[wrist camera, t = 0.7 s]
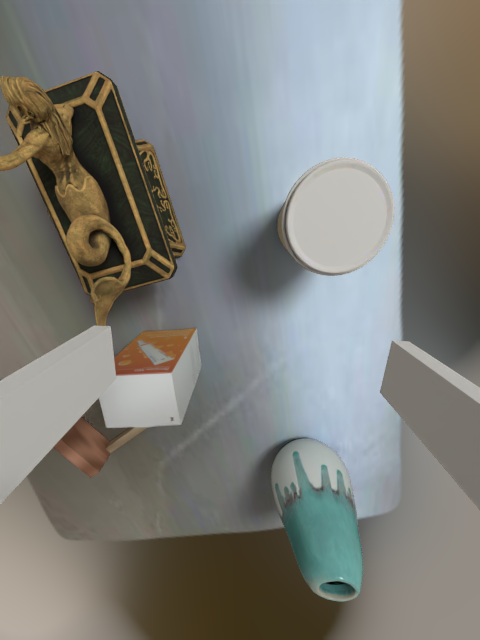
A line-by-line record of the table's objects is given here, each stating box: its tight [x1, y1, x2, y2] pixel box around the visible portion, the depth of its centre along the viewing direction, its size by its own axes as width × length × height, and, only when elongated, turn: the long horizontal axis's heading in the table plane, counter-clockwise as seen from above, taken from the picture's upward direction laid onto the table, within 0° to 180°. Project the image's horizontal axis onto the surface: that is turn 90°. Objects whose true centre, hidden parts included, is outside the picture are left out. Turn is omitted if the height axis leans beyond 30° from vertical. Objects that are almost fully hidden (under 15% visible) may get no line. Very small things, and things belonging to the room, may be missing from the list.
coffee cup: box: [277, 158, 394, 276], centre depth 27 cm, size 9×9×12 cm
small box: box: [99, 328, 202, 428], centre depth 33 cm, size 8×6×13 cm
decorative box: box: [0, 71, 186, 326], centre depth 24 cm, size 20×10×20 cm, turn 15°
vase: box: [271, 438, 363, 601], centre depth 36 cm, size 12×12×18 cm
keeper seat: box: [53, 417, 147, 478], centre depth 40 cm, size 14×13×5 cm
